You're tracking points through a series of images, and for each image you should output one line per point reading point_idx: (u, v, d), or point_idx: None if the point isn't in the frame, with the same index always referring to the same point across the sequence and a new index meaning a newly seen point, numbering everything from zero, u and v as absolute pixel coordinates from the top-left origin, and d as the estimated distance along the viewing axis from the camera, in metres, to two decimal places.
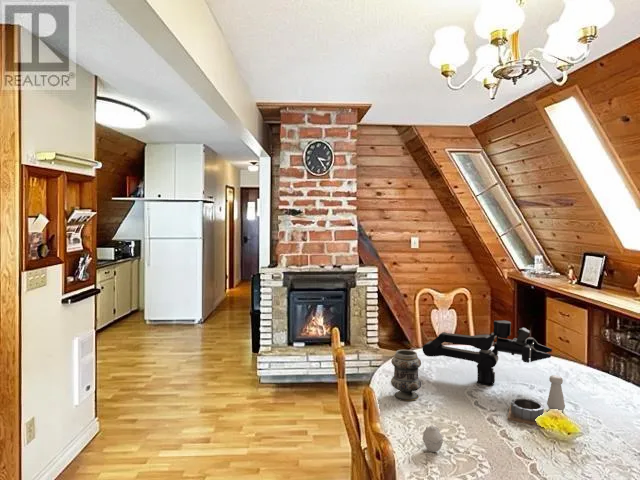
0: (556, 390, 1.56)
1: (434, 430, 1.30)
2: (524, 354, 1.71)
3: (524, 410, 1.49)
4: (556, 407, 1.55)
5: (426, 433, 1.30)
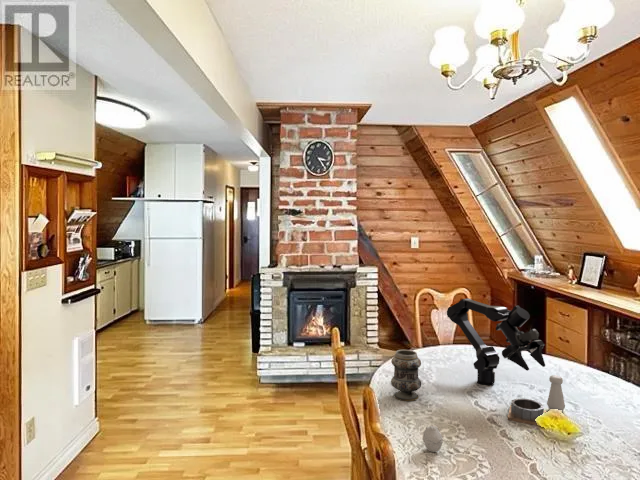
0: (556, 390, 1.56)
1: (434, 430, 1.30)
2: (505, 350, 1.66)
3: (524, 410, 1.49)
4: (556, 407, 1.55)
5: (426, 433, 1.30)
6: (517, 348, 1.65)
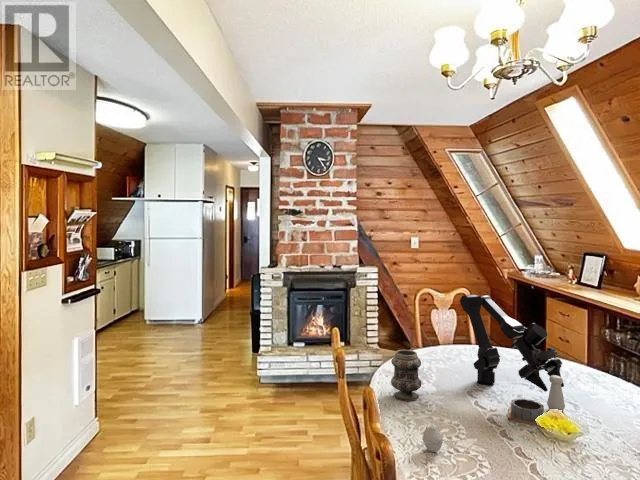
0: (556, 390, 1.56)
1: (434, 430, 1.30)
2: (522, 370, 1.59)
3: (524, 410, 1.49)
4: (556, 407, 1.55)
5: (426, 433, 1.30)
6: (535, 368, 1.58)
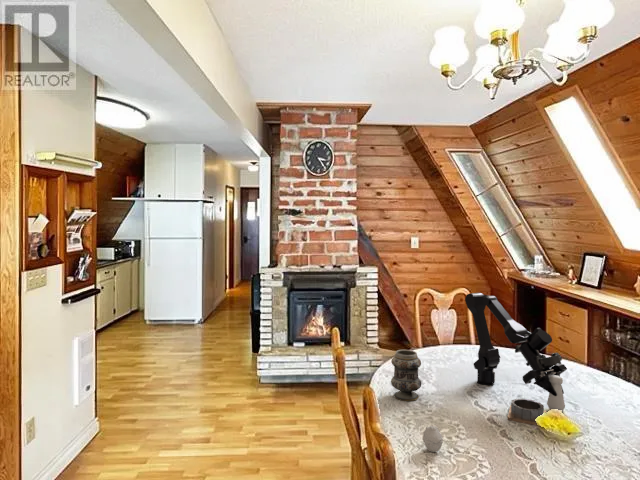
0: (556, 390, 1.56)
1: (434, 430, 1.30)
2: (527, 376, 1.58)
3: (524, 410, 1.49)
4: (556, 407, 1.55)
5: (426, 433, 1.30)
6: (539, 374, 1.56)
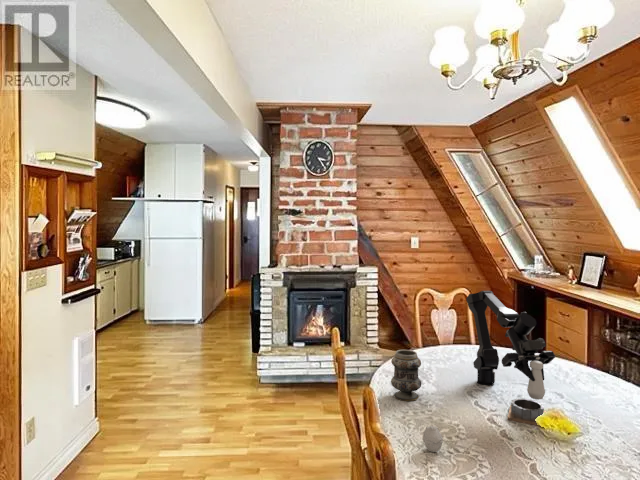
0: (535, 375, 1.52)
1: (434, 430, 1.30)
2: (504, 358, 1.57)
3: (524, 410, 1.49)
4: (533, 392, 1.52)
5: (426, 433, 1.30)
6: (516, 357, 1.55)
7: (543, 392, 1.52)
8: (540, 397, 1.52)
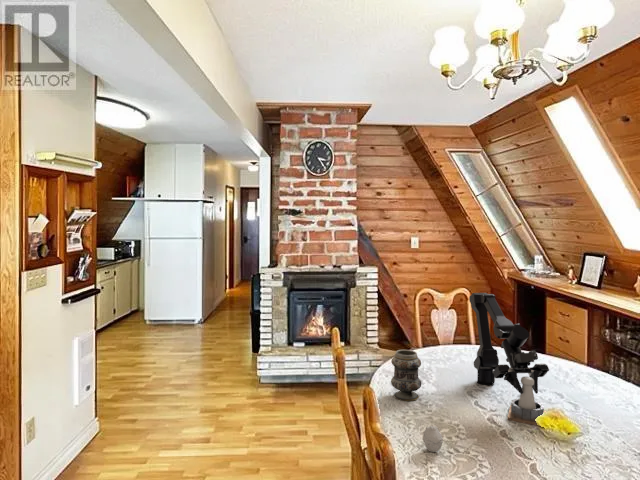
0: (525, 391, 1.52)
1: (434, 430, 1.30)
2: (495, 369, 1.57)
3: (524, 410, 1.49)
4: None
5: (426, 433, 1.30)
6: (507, 369, 1.55)
7: None
8: None
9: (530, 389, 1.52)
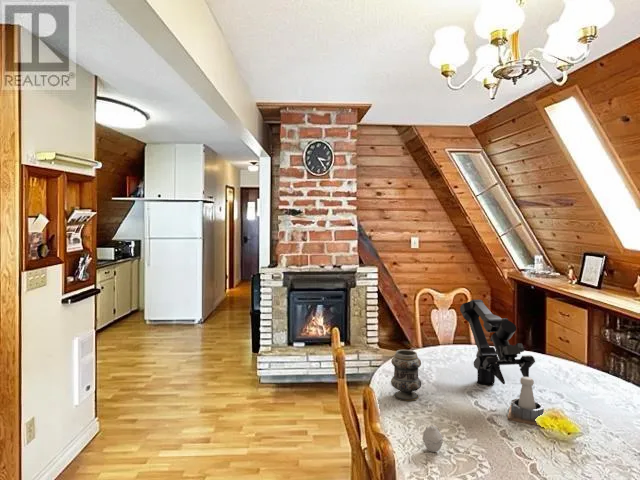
0: (525, 391, 1.52)
1: (434, 430, 1.30)
2: (484, 361, 1.67)
3: (524, 410, 1.49)
4: None
5: (426, 433, 1.30)
6: (495, 361, 1.64)
7: None
8: None
9: (530, 389, 1.52)
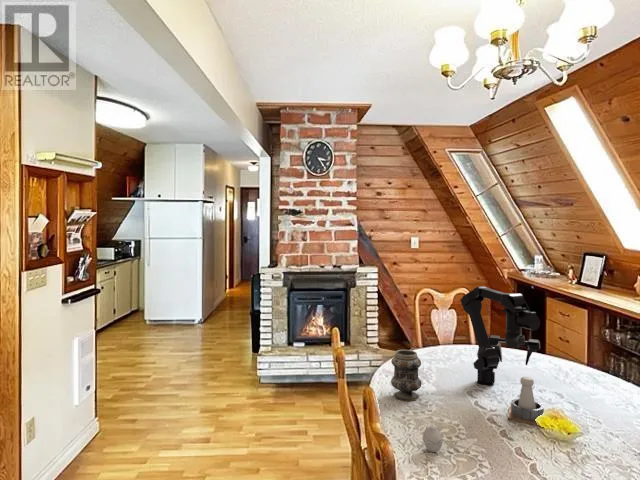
0: (525, 391, 1.52)
1: (434, 430, 1.30)
2: None
3: (524, 410, 1.49)
4: None
5: (426, 433, 1.30)
6: (495, 344, 1.73)
7: None
8: None
9: (530, 389, 1.52)
